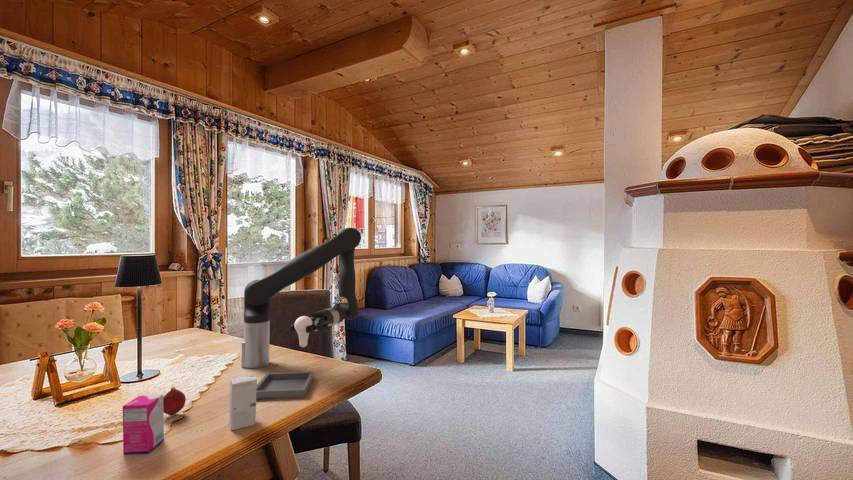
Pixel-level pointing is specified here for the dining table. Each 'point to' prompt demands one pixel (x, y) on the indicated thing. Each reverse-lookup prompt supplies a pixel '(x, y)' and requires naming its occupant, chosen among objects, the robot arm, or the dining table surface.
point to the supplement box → (143, 424)
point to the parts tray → (284, 385)
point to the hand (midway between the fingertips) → (299, 329)
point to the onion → (173, 402)
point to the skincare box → (242, 402)
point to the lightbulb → (302, 329)
